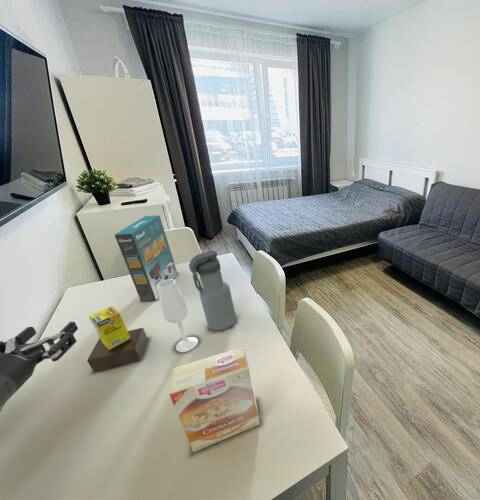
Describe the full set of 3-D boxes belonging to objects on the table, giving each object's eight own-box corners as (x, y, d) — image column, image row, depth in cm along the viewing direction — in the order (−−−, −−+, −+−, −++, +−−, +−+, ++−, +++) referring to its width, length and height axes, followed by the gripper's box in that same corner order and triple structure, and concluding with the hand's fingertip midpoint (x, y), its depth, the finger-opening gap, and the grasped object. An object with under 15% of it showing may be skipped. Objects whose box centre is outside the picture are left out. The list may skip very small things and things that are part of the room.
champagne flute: (191, 334, 94) (172, 275, 83) (202, 342, 90) (183, 281, 80) (171, 346, 89) (148, 285, 79) (182, 355, 85) (159, 292, 75)
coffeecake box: (192, 453, 60) (167, 395, 51) (193, 423, 66) (171, 367, 57) (260, 425, 65) (248, 368, 57) (256, 400, 71) (244, 344, 63)
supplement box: (132, 339, 85) (119, 312, 80) (110, 352, 81) (95, 323, 76) (124, 332, 88) (111, 305, 83) (102, 344, 84) (87, 316, 79)
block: (93, 372, 80) (86, 360, 78) (105, 348, 89) (99, 337, 86) (140, 360, 84) (134, 348, 82) (147, 338, 92) (143, 327, 90)
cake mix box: (164, 274, 132) (145, 216, 119) (177, 273, 132) (159, 215, 119) (141, 301, 112) (114, 234, 99) (156, 300, 113) (131, 233, 100)
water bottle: (212, 336, 93) (192, 265, 81) (203, 322, 99) (183, 254, 87) (240, 323, 99) (226, 254, 87) (230, 310, 105) (215, 245, 93)
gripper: (23, 366, 49) (81, 310, 63) (-74, 379, 46) (9, 318, 61) (43, 393, 52) (94, 334, 66) (-46, 408, 49) (26, 343, 64)
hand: (53, 327), depth 63 cm, fingers open, 8 cm apart
